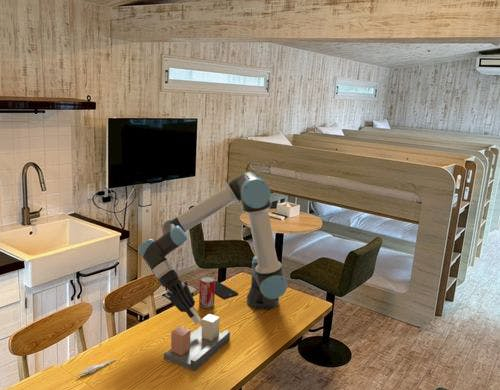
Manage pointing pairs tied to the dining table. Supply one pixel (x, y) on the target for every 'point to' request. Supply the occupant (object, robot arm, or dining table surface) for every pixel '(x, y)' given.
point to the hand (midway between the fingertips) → (198, 322)
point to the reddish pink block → (180, 340)
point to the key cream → (210, 327)
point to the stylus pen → (94, 368)
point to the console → (198, 350)
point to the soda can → (207, 292)
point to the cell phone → (224, 291)
